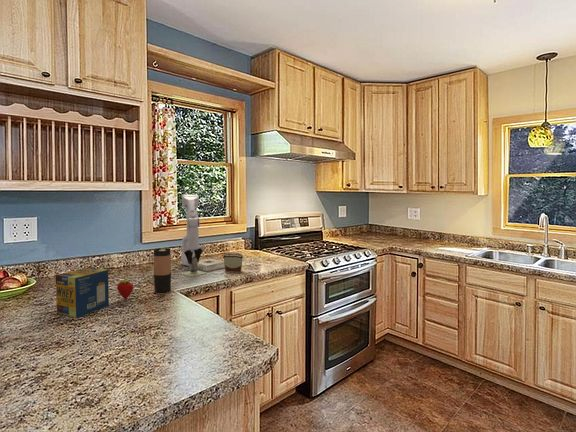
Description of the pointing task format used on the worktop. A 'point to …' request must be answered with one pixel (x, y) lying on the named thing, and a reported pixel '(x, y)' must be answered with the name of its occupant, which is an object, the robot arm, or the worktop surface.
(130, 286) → the strawberry
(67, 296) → the protein box
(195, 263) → the grey cylinder
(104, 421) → the worktop surface
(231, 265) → the food container
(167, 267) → the travel mug
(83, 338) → the worktop surface
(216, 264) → the housing
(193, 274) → the mat
